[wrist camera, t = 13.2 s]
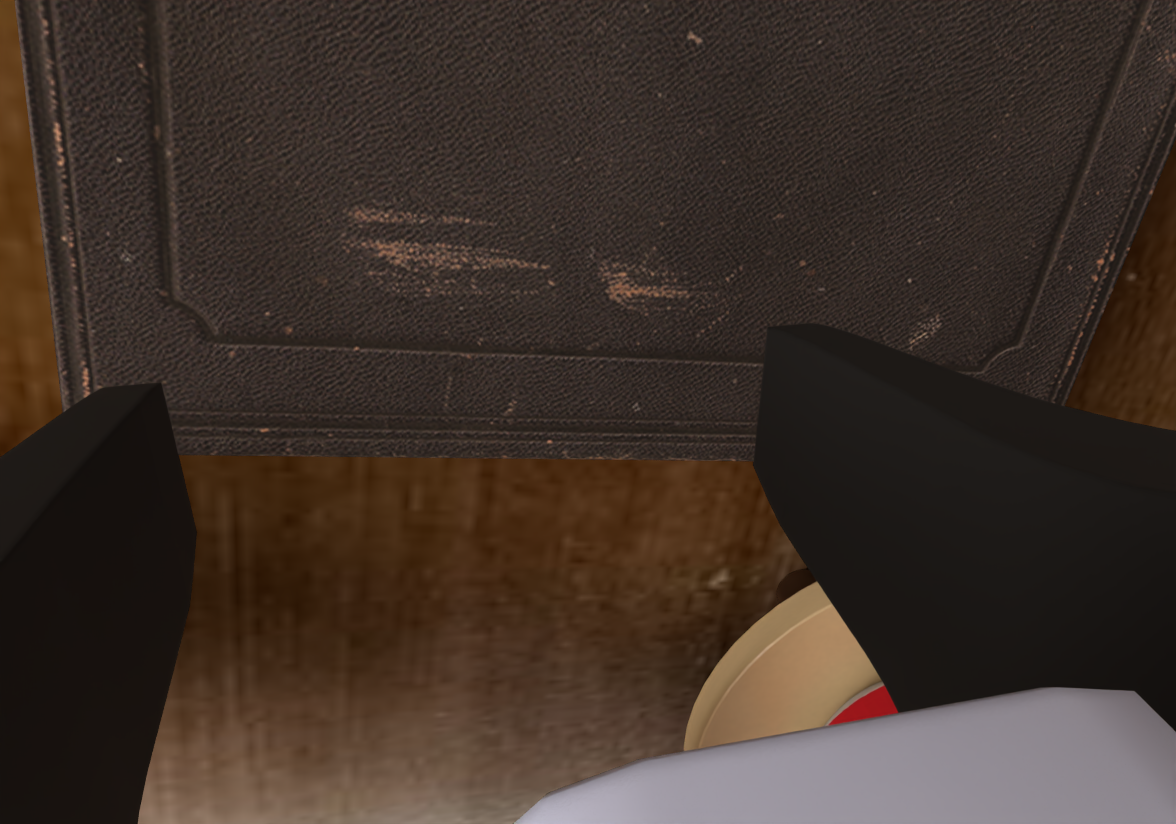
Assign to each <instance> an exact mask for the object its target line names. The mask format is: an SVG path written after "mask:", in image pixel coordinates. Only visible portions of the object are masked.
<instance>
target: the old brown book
mask: <svg viewBox="0 0 1176 824" xmlns="http://www.w3.org/2000/svg"><path fill="white" fill-rule="evenodd" d="M15 6H16V15H17V24H18V32H19V41H20V49H21V58H22V67H23V75H24V84H25V92H26V101H27V109H28V118H29V127H30V135H31V144H32V152H33V161H34V170H35V178H36V187H37V195H38V204H39V212H40V221H41V230H42V238H43V247H44V255H45V264H46V273H47V281H48V290H49V298H50V307H51V315H52V324H53V333H54V341H55V350H56V358H57V367H58V376H59V384H60V393H61V401H62V410H63V412H64V411H66V410H67V409H69V408H70V407H72V406H73V405H75V404H76V403H77V402H79V401H81V400H82V399H84V398H85V397H87V396H88V395H90V394H92V393H93V392H95V391H97V390H99V389H101V388H104V387H115V386H126V385H136V384H147V383H158V382H161V383H162V387H163V392H164V396H165V400H166V404H167V408H168V413H169V417H170V421H171V425H172V430H173V434H174V438H175V442H176V446H177V451H178V455H231V456H323V457H415V458H507V459H600V460H692V461H754V453H755V443H756V433H757V424H758V414H759V404H760V394H761V385H762V375H763V365H764V355H765V346H766V336H767V327H774V326H785V325H796V324H807V323H816V324H821V325H826V326H830V327H833V328H837V329H840V330H844V331H847V332H850V333H853V334H856V335H859V336H862V337H864V338H867V339H870V340H873V341H876V342H878V343H881V344H884V345H886V346H889V347H892V348H894V349H897V350H900V351H902V352H905V353H908V354H910V355H913V356H916V357H918V358H921V359H924V360H926V361H929V362H932V363H934V364H937V365H940V366H942V367H945V368H948V369H951V370H953V371H956V372H959V373H962V374H965V375H967V376H970V377H973V378H976V379H979V380H982V381H985V382H988V383H991V384H994V385H997V386H1000V387H1003V388H1006V389H1009V390H1012V391H1016V392H1019V393H1022V394H1025V395H1028V396H1031V397H1034V398H1038V399H1041V400H1045V401H1048V402H1052V403H1055V404H1059V405H1062V406H1065V404H1066V401H1067V399H1068V396H1069V394H1070V392H1071V389H1072V387H1073V384H1074V382H1075V380H1076V377H1077V375H1078V372H1079V370H1080V368H1081V365H1082V363H1083V360H1084V358H1085V356H1086V353H1087V351H1088V348H1089V346H1090V344H1091V341H1092V339H1093V336H1094V334H1095V332H1096V329H1097V327H1098V324H1099V322H1100V320H1101V317H1102V315H1103V312H1104V310H1105V308H1106V305H1107V303H1108V300H1109V298H1110V295H1111V293H1112V291H1113V288H1114V286H1115V283H1116V281H1117V279H1118V276H1119V274H1120V271H1121V269H1122V267H1123V264H1124V262H1125V259H1126V257H1127V255H1128V252H1129V250H1130V247H1131V245H1132V243H1133V240H1134V238H1135V235H1136V233H1137V231H1138V228H1139V226H1140V223H1141V221H1142V219H1143V216H1144V214H1145V211H1146V209H1147V207H1148V204H1149V202H1150V199H1151V197H1152V195H1153V192H1154V190H1155V187H1156V185H1157V183H1158V180H1159V178H1160V175H1161V173H1162V171H1163V168H1164V166H1165V163H1166V161H1167V159H1168V156H1169V154H1170V151H1171V149H1172V146H1173V144H1174V142H1175V139H1176V0H15Z"/></svg>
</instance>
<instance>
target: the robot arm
mask: <svg viewBox="0 0 1176 824" xmlns="http://www.w3.org/2000/svg"><path fill="white" fill-rule="evenodd" d="M753 466H754V468H755V471H756V473H757V475H758V478H759V480H760V482H761V485H762V487H763V489H764V492H765V494H766V496H767V499H768V501H769V503H770V505H771V507H772V509H773V511H774V513H775V515H776V517H777V519H778V521H779V523H780V526H781V527H782V529H783V530H784V532H785V534H786V535H787V537H788V538H789V540H790V541H791V543H792V544H793V546H794V548H795V549H796V551H797V552H798V554H799V555H800V557H801V558H802V560H803V561H804V563H805V564H806V566H807V567H808V569H809V570H810V572H811V573H812V575H813V576H814V578H815V579H816V581H817V582H818V584H819V585H820V587H821V588H822V590H823V591H824V593H825V594H826V596H827V597H828V599H829V600H830V602H831V603H832V605H833V606H834V608H835V609H836V611H837V612H838V614H839V615H840V617H841V618H842V620H843V621H844V623H845V624H846V625H847V627H848V628H849V630H850V631H851V633H852V634H853V636H854V637H855V639H856V640H857V642H858V643H859V645H860V646H861V648H862V649H863V651H864V652H865V654H866V655H867V657H868V659H869V660H870V662H871V664H872V665H873V667H874V669H875V670H876V672H877V674H878V675H879V677H880V679H881V680H882V682H883V684H884V685H885V687H886V689H887V691H888V693H889V695H890V697H891V699H892V701H893V703H894V705H895V707H896V709H897V711H898V713H896V714H890V715H884V716H879V717H873V718H867V719H862V720H856V721H851V722H845V723H839V724H834V725H828V726H823V727H817V728H811V729H806V730H800V731H794V732H789V733H783V734H778V735H772V736H766V737H761V738H755V739H750V740H744V741H738V742H733V743H727V744H721V745H716V746H710V747H705V748H699V749H693V750H688V751H682V752H676V753H671V754H665V755H660V756H654V757H648V758H643V759H638V760H636V761H633V762H630V763H627V764H625V765H622V766H619V767H617V768H614V769H611V770H608V771H606V772H603V773H600V774H598V775H595V776H592V777H589V778H587V779H584V780H581V781H579V782H576V783H573V784H571V785H568V786H565V787H562V788H560V789H557V790H554V791H552V792H549V793H547V794H546V795H545V796H544V797H543V798H542V799H540V800H539V801H538V802H537V803H536V804H535V805H534V806H533V807H531V808H530V809H529V810H528V811H527V812H526V813H525V814H524V815H522V816H521V817H520V818H519V819H518V820H517V821H516V822H515V823H513V824H1176V431H1173V430H1168V429H1162V428H1156V427H1152V426H1147V425H1142V424H1137V423H1132V422H1127V421H1123V420H1119V419H1115V418H1111V417H1106V416H1102V415H1098V414H1094V413H1090V412H1086V411H1082V410H1078V409H1074V408H1070V407H1066V406H1062V405H1059V404H1055V403H1052V402H1048V401H1045V400H1041V399H1038V398H1034V397H1031V396H1028V395H1025V394H1022V393H1019V392H1016V391H1012V390H1009V389H1006V388H1003V387H1000V386H997V385H994V384H991V383H988V382H985V381H982V380H979V379H976V378H973V377H970V376H967V375H965V374H962V373H959V372H956V371H953V370H951V369H948V368H945V367H942V366H940V365H937V364H934V363H932V362H929V361H926V360H924V359H921V358H918V357H916V356H913V355H910V354H908V353H905V352H902V351H900V350H897V349H894V348H892V347H889V346H886V345H884V344H881V343H878V342H876V341H873V340H870V339H867V338H864V337H862V336H859V335H856V334H853V333H850V332H847V331H844V330H840V329H837V328H833V327H830V326H826V325H821V324H816V323H807V324H796V325H785V326H774V327H767V336H766V346H765V355H764V365H763V375H762V385H761V394H760V404H759V414H758V424H757V433H756V443H755V453H754V462H753ZM196 536H197V531H196V527H195V522H194V518H193V514H192V510H191V506H190V501H189V497H188V493H187V489H186V484H185V480H184V476H183V472H182V468H181V463H180V459H179V455H178V451H177V446H176V442H175V438H174V434H173V430H172V425H171V421H170V417H169V413H168V408H167V404H166V400H165V396H164V392H163V387H162V383H161V382H158V383H147V384H136V385H126V386H115V387H104V388H101V389H99V390H97V391H95V392H93V393H92V394H90V395H88V396H87V397H85V398H84V399H82V400H81V401H79V402H77V403H76V404H75V405H73V406H72V407H70V408H69V409H67V410H66V411H64V412H63V413H62V414H60V415H59V416H57V417H56V418H55V419H53V420H52V421H50V422H49V423H48V424H46V425H45V426H44V427H42V428H41V429H39V430H38V431H37V432H35V433H34V434H32V435H31V436H30V437H28V438H27V439H25V440H24V441H23V442H21V443H20V444H18V445H17V446H16V447H14V448H13V449H11V450H10V451H9V452H7V453H6V454H4V455H3V456H2V457H0V824H138V817H139V810H140V805H141V800H142V795H143V791H144V786H145V781H146V776H147V771H148V767H149V764H150V760H151V756H152V752H153V748H154V744H155V740H156V737H157V733H158V729H159V725H160V721H161V717H162V713H163V710H164V706H165V702H166V698H167V694H168V690H169V686H170V683H171V679H172V675H173V671H174V667H175V663H176V659H177V655H178V651H179V647H180V643H181V639H182V635H183V631H184V627H185V623H186V619H187V615H188V611H189V607H190V600H191V591H192V581H193V572H194V560H195V548H196Z"/></svg>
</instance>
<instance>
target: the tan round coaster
mask: <svg viewBox="0 0 1176 824" xmlns="http://www.w3.org/2000/svg"><path fill="white" fill-rule="evenodd" d="M777 599H778V601H779V603H780V604H779V605H777V606H776V607H774V608H773V609H772V610H771V611H770V612H768V613H767V614H766V615H765V616H763V617H762V618H761V619H760V620H758V621H757V622H756V623H755V624H753V625H752V626H751V627H750V628H749V629H748V630H747V631H746V632H745V633H744V634H743V635H742V636H741V637H740V638H739V639H738V640H737V641H736V642H735V643H734V644H733V645H732V647H731V648H730V649H729V650H728V652H727V653H726V654H725V655H724V656H723V658H722V659H721V660H720V661H719V662H718V664H717V665H716V667H715V668H714V670H713V671H712V673H711V674H710V676H709V677H708V679H707V680H706V682H705V684H704V685H703V687H702V689H701V691H700V694H699V696H698V698H697V700H696V702H695V704H694V706H693V709H692V712H691V715H690V718H689V722H688V725H687V730H686V736H685V742H684V751H688V750H693V749H699V748H705V747H710V746H716V745H721V744H727V743H733V742H738V741H744V740H750V739H755V738H761V737H766V736H772V735H778V734H783V733H789V732H794V731H800V730H806V729H811V728H817V727H823V726H824V725H825V724H826V723H827V721H828V720H829V719H830V718H831V717H832V716H833V714H834V713H835V712H836V711H837V710H838V709H839V708H840V707H841V706H843V705H844V704H845V703H846V702H847V701H848V700H850V699H851V698H852V697H854V696H855V695H857V694H858V693H860V692H861V691H863V690H865V689H867V688H868V687H870V686H872V685H874V684H876V683H879V682H881V681H882V680H881V679H880V677H879V675H878V674H877V672H876V670H875V669H874V667H873V665H872V664H871V662H870V660H869V659H868V657H867V655H866V654H865V652H864V651H863V649H862V648H861V646H860V645H859V643H858V642H857V640H856V639H855V637H854V636H853V634H852V633H851V631H850V630H849V628H848V627H847V625H846V624H845V623H844V621H843V620H842V618H841V617H840V615H839V614H838V612H837V611H836V609H835V608H834V606H833V605H832V603H831V602H830V600H829V599H828V597H827V596H826V594H825V593H824V591H823V590H822V588H821V587H820V585H819V584H818V582H817V581H816V579H815V578H814V576H813V575H812V573H811V572H810V570H798V571H795V572H792V573H790V574H789V575H787V576H786V577H785V578H784V579H783V580H782V581H781V582H780V584H779V586H778V588H777Z"/></svg>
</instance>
